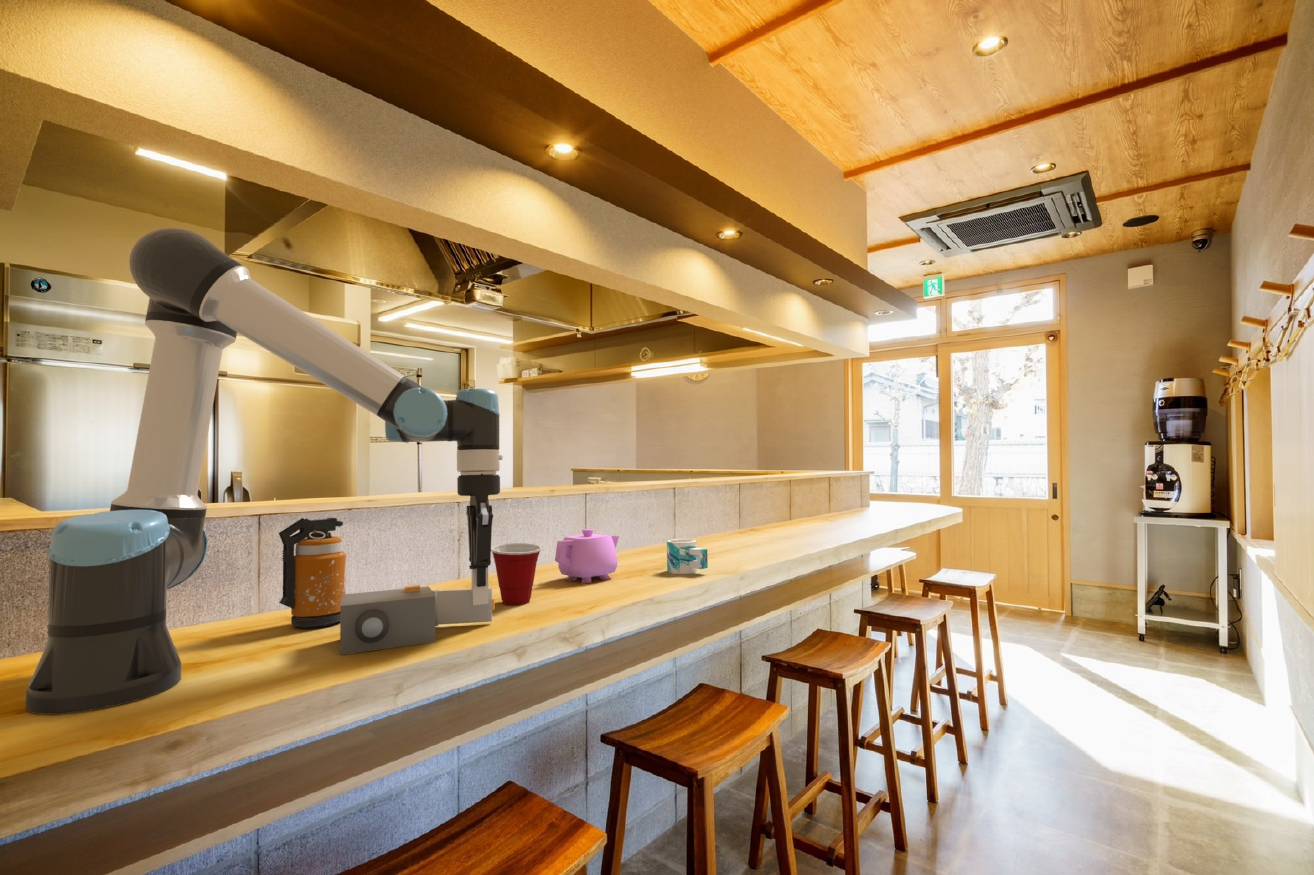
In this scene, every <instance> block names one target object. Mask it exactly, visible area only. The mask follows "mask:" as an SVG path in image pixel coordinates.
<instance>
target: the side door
mask: <svg viewBox="0 0 1314 875" xmlns="http://www.w3.org/2000/svg"><path fill="white" fill-rule="evenodd" d="M432 592H433V593H434V595H435V627H438V626H439V625H440V626H442V625H457V624H473V623H474V624H476V623H490V622H493V611H495V606H496V605H495V604H496V603H495V602H496V600H495V599H496V598H495V597H493V588H492V587H488V602H489V604H481V605H472V588H461V589H460V588H459V589H458V588H457V589H441V590H438V589H436V590H432Z"/></svg>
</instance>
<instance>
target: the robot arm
mask: <svg viewBox="0 0 1314 875" xmlns="http://www.w3.org/2000/svg"><path fill="white" fill-rule="evenodd" d="M128 260H129V261H128V262H129V272H130V275H131V277H132V279H133V280H134V282H135V283H136V285H137V287H138V288H139V289H140V290H141V291H142V293H143V294H144V295H146V296H147V297H148V298H149V299H148V305H147V310H146V316H145V319H144V325H145V326H146V327H147V328H148V330H150V332H151V333H153V335H154V344H153V349H152V354H151V359H150V366H149V370H148V376H147V380H146V386H145V391H144V398H143V403H142V408H141V414H140V418H139V424H138V430H137V435H136V441H135V444H134V445H135V447H134V452H133V456H132V457H133V458H132V463H131V467H130V471H129V478H128V483H127V484H128V485H127V488H126V489H127V490H126V491H125V492H124V493H122V494H120V495H119V496H118V497H116V498H114V499H113V500H111V502H110V509H109V511H108V510H107V511H98V512H95V513H86V514H80V515H76V516H72V517H69V518H66V519H63V520H61V521H60V522H58V523H56V525H55V526H54V527H53V529H52V530H51V538H50V539H51V540H50V544H49V546H48V549H47V553H48V554H47V555H48V557H49V562H48V563H49V565H48V566H49V567H48V568H49V569H48V570H49V571H48V573H49V574H48V610H47V611H48V612H47V613H48V619H47V621H48V622H47V626H48V627H47V642H46V645H45V647H44V650H43V652H42V654H41V656H40V659H39V661H38V664H37V666H36V668H35V670H34V672H33V675H32V677H31V678H30V681H29V684H28V685H27V688H26V692H25V693H26V694H25V709H26V710H25V711H27V712H30V713H32V714H38V715H59V714H60V715H61V714H71V713H80V712H86V711H88V712H89V711H93V710H94V711H95V710H99V709H104V708H109V707H115V706H119V705H122V704H123V705H124V704H126V703H127V704H128V703H131V702H134V701H138V700H142V699H144V698H147V697H151V696H153V695H156V694H160V693H162V692H164V691H166V690H168V689H171V688H172V687H174V686H176V685H177V684H178V683H179V682H180V681H181V679H182V662H181V658H180V656H179V654H178V651H177V649H176V646H175V643H174V642H173V638H172V636H171V633H170V631H169V629H168V626H167V600H168V599H167V596H168V594H167V593H168V591H167V590H170V589H172V588H175V587H176V586H179V585H181V584H182V583H184V582H185V581H186V580H188V579H189V578H191V577H192V576H193V575H194V574H195V573H196V572H197V571H198V570H199V569H200V568H201V566H202V565H203V563H204V562H205V559H206V557H207V554H208V551H209V537H208V534H207V532H206V530H205V528H204V527H205V521H206V515H207V508H208V507H207V505H206V504H205V503H204V502H203V501H202V500H201V498H200V497H199V495H198V493H199V487H200V483H201V482H200V481H201V476H202V470H203V465H204V459H205V458H204V457H205V452H206V448H207V440H208V436H209V430H210V424H211V419H212V413H213V406H214V402H215V395H216V390H217V386H218V385H217V384H218V378H219V372H220V366H221V360H222V356H223V351H224V349H225V348H228V347H229V346H230V345H232V344H234V343H235V342H236V340H237V335H238V334H239V335H241V336H243V337H245V338H246V339H248V340H249V341H251V342H252V343H255V344H256V345H258V346H259V347H261V348H263V349H264V350H266V351H268V352H270V353H272V354H273V355H274V356H277V357H278V358H280V359H282V360H283V361H284V362H286V363H288V364H290V365H291V366H293V367H295V368H296V369H298V370H300V371H301V372H304V373H305V374H307V375H308V376H310V377H312V378H313V379H315V380H317V381H318V382H320V383H322V384H323V385H324V386H327V387H328V388H330V389H332V390H334V391H335V392H336V393H338V394H340V395H342V397H343V396H344V397H345V398H347V399H348V400H350V401H352V402H354V403H355V404H357V405H358V406H360V407H362V408H364V409H365V410H366V411H368V412H370V413H372V414H373V415H375V416H377V417H379V418H380V419H381V420H383V421H384V432H385V438H386V440H388V441H389V442H397V443H399V442H400V443H405V444H408V443H412V442H413V443H418V442H419V443H422V442H423V443H424V442H426V443H427V442H433V443H434V442H456V445H457V446H456V471H457V473H460V475H458V477H457V478H456V481H457V495H458V496H460V497H469V505H466V512H465V513H466V514H465V515H466V516H467V529H468V530H467V532H468V552H469V553H468V554H469V555H468V556H469V557H468V561H469V562H470V565H469V570H471V589H472V605H481V604H489V602H488V588H489V566H491V564H492V560H491V559H492V557H491V556H492V551H491V547H492V530H493V527H492V526H493V518H494V514H493V506H492V505H490V503H489V502H490V501H489V496H496V495H499V494H500V492H501V476H500V475H499V474H497V472H499V471H500V467H501V465H500V461H502V460H503V457H504V456H503V455H501V454H500V415H501V414H500V407H499V395H498V393H496V392H495V391H494V390H492V389H488V388H463V389H459V390H458V391H457V392H456V396H455V399H449V400H447V399H446V400H443V399H444V398H442V396H441V395H440V394H438V393H437V392H436V391H434V390H433V389H431V388H428V387H423V386H421V385H420V384H418V383H417V382H415V381H414V380H412V379H409V378H408V377H406V376H405V375H404V374H402V372H399V371H397V370H396V369H394V368H393V367H391V366H390V365H388V364H386V363H385V362H383V361H381V360H380V359H378V358H377V357H375V356H374V355H372V354H371V353H369V352H368V351H366V350H365V349H363V348H362V347H360V346H358V345H356V344H355V343H353V342H351V341H350V340H349V339H347V338H345V337H344V336H343V335H340V334H339V333H338V332H336V331H334V330H333V329H331V328H329V327H328V326H327V325H324V324H323V323H321V321H318V320H317V319H316V318H313V317H312V316H311V315H309V314H307V313H305V312H304V311H303V310H301V309H299V308H298V307H296V306H295V305H293V304H292V303H290V302H288V301H287V300H285V299H283V298H282V297H280V296H279V295H277V294H275V293H274V292H273V291H270V290H269V289H267V288H266V287H264V286H263V285H261V284H260V283H258V282H256V281H255V280H253V279H252V278H251V274H250V271H249V269H248V267H246V266H245V265H243V264H242V263H240V262H239V261H237V260H235V259H234V258H233V257H231V256H229V255H228V254H226V252H224V251H222V249H220V248H219V247H217V246H216V245H215V244H214V243H213V242H211V241H210V240H209V239H207V238H206V237H205V236H202V235H201V234H199V233H197V232H195V231H194V232H193V231H191V230H188V229H184V228H175V227H170V228H169V227H167V228H160V229H156V230H151V231H150V232H148V233H145V235H143V236H141V237H140V238H139V239H138V240H137V241H136V243H135V244H134V246H133V247H132V248H131V251H130V255H129V259H128Z"/></svg>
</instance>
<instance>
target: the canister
mask: <svg viewBox="0 0 1314 875" xmlns="http://www.w3.org/2000/svg"><path fill="white" fill-rule="evenodd" d="M343 525H344V522H343V521H341V520H338V519H337V517H327V518H322V519H308V518H307V517H306V518H303V517H302V518H300V519H298V520H297V521H295V522H294V523H292V524H291V525H289V526H287V527H286V528H284V529H283V530H281V531H280V532H278V535H279V538H280V541H281V542H282V546H283V547H282V548H283V549H282V554H281V555H282V558H281V559H282V598H281V599H280V600H279V604H280V605H282V606H285V607H288V608H291V609H290V610H291V615H292V616H291V620H290V624H291V625H292V626H294V627H295V626H296V627H300V628H302V629H316V628H325V627H328V626H333V625H336V624H337V623H339V622H340V605H341V596H342V595H343V594H347V553H346V552H344V541H343V540H342V538H341V537H339V536H335V535H334V536H332V534H331V532H333V531H334V532H336V531H337V530H336V528H337V527H338V528H339V527H342V526H343Z"/></svg>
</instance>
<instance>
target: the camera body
mask: <svg viewBox="0 0 1314 875" xmlns="http://www.w3.org/2000/svg"><path fill="white" fill-rule="evenodd" d="M432 591H433V590H432V589H431V587H430V586H429V585H428V586H427V585H426V586H421V585H420V584H413V585H412V584H411V585H405V586H404V588H396V589H387V590H377V591H376V590H375V591H367V592H366V591H363V592H354V593H346V594H343V595H342V596H341V605H340V621H339V624H340V625H339V626H340V628H339V629H340V630H339V631H340V632H339V656H341V655H342V656H343V655H349V654H356V653H364V652H370V651H378V650H386V649H387V650H388V649H393V648H399V647H407V646H409V647H410V646H415V645H416V646H417V645H422V644H423V645H424V644H429V643H436V626H435V595H434V593H433V592H432Z"/></svg>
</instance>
